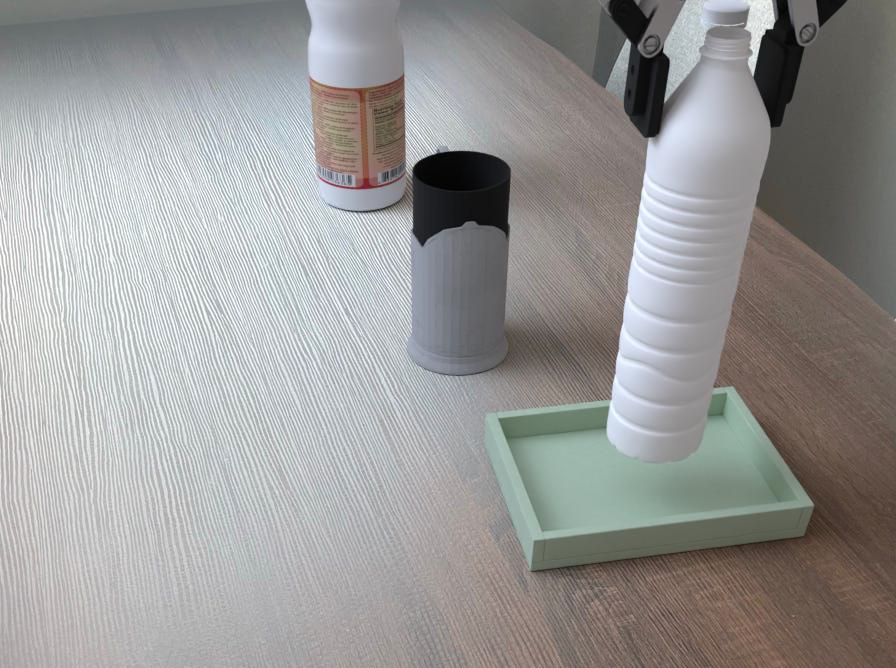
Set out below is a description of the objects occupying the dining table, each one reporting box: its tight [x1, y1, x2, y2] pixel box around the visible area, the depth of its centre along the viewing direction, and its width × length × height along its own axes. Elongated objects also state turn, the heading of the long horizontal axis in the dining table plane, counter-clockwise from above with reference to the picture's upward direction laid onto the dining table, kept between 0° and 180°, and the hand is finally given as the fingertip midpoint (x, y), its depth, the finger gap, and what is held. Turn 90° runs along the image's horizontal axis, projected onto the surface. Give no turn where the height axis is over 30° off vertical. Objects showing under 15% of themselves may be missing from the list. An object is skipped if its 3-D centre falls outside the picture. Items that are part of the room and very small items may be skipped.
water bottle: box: [607, 0, 772, 464], centre depth 62 cm, size 9×6×25 cm
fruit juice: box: [304, 0, 407, 212], centre depth 99 cm, size 9×9×28 cm
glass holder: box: [406, 145, 512, 376], centre depth 85 cm, size 9×14×15 cm, turn 9°
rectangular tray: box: [483, 386, 815, 572], centre depth 74 cm, size 20×15×3 cm
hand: (703, 120), depth 56 cm, fingers closed on water bottle, 6 cm apart
